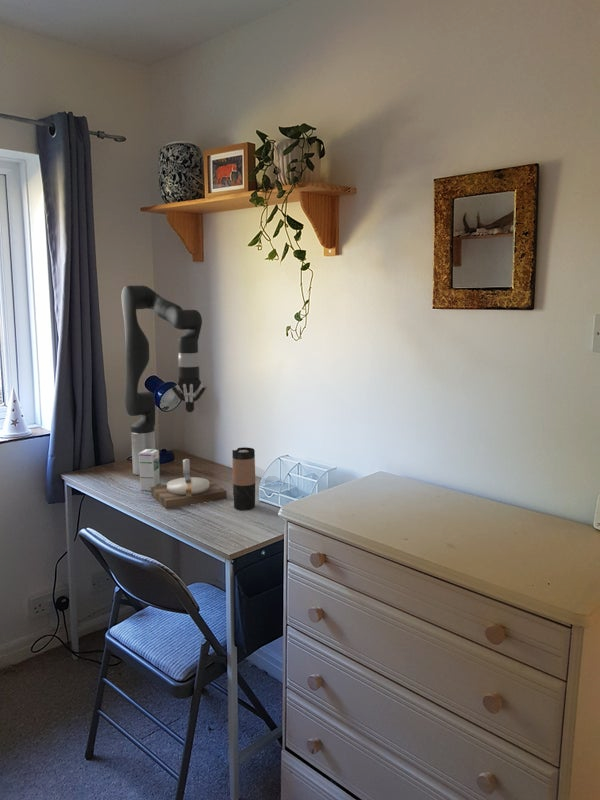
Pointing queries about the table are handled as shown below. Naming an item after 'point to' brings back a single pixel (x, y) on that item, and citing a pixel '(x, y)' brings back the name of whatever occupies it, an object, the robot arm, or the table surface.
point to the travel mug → (244, 478)
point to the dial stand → (187, 496)
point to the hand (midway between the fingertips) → (190, 411)
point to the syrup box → (149, 469)
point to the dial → (187, 482)
